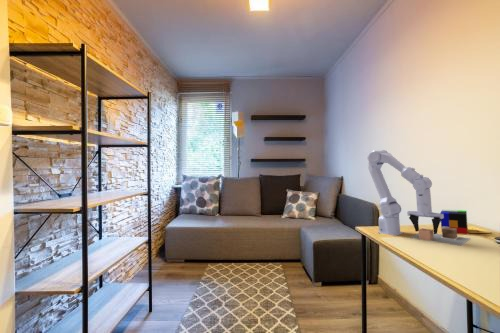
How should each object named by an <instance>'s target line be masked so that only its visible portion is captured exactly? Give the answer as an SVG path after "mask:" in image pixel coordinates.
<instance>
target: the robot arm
mask: <svg viewBox="0 0 500 333" xmlns="http://www.w3.org/2000/svg"><path fill="white" fill-rule="evenodd" d="M367 160H368V165H367V166H368V171H369V174H370V176H371V178H372V182H373V183H374V186H375V188H376V191H377V193H378V195H379V198H380V201H379V206H380V207H379V208H380V213H381V215H380V216H379V217H378V234H383V235H390V236H395V237H396V236H399V235H402V234H404V231H401V223H400V221H401V220H400V213H401V212H402V206H401V204H399V203H398V201H397V199H396V198H394V197H393V195H392V194H391V193H392V192H391V191H390V189H389V186H388V184H387V181H386V180H385V177H384V175H383V173H382V169H381V168H382V167H383V165H384V164H388V165H390V166H391V167H393V168H395V170H397V171H398V172H400V174H401V177H402V178H403V179H405V180H406V181H408V183H410V184H411V185H412V188H413V189H414V190H415V196H416V198H415V199H416V209H417V210H416V211H414V210H413V211H412V210H411V211H410V210H408V211H407V212H406V213H407V216H409V217H408V219H409V220H410V221H411V223H412V225H413V228H414V231H415V232H419V230H420V226H419V218H420V217H423V218H432V219H431V222H432V227H433V228H432V230H433V233H434V234H438V231H439V230H438V229H439V226H440V225H441V220H442V219H443V218H444V214H440V213H441V212H440V213H439V212H433V210H432V208H433V207H432V198H431V197H432V195H431V187H432V185H433V183H432V180H431V179H430V178H429V177H427V176H424V175H423V174H420V173H419V172H417V171H416V169H415V168H414V167H410V166H408V167H407V166H405V165H404V164H403V163H402V162H401V161H400V160H398V159H397V158H396V157H395V156H393V155H392V154H391V153H390V152H388V151H387V150H385V149H381V150H380V149H379V150H372V151H370V152H369V154H368V155H367Z"/></svg>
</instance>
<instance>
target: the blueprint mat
mask: <svg viewBox="0 0 500 333" xmlns="http://www.w3.org/2000/svg"><path fill="white" fill-rule="evenodd" d="M433 236H434V238H433V239H431V240H426V241H428V242H433V243H440V244H441V243H442V244H445V245H446V244H447V245H454V246H459V247H461V246H463V245H464V244H465V243H467V242H468V241H469V240H471V238H470V237H463V236H457V238H455V239H450V238H443V236H442V234H440V233H437V234H434V232H433ZM409 238H410V239H415V240H422V241H425V240H424V239H419V232H418V233H416V234H414V235H413V236H410V237H409Z"/></svg>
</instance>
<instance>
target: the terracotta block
mask: <svg viewBox="0 0 500 333" xmlns="http://www.w3.org/2000/svg"><path fill="white" fill-rule="evenodd" d="M418 233H419V239H418V240H421V239H424V240H423V241H427V240H431V239H433V238H434V236H433V233H434V232H433V229H429V228H419V231H418Z"/></svg>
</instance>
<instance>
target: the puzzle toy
mask: <svg viewBox="0 0 500 333" xmlns="http://www.w3.org/2000/svg"><path fill="white" fill-rule="evenodd" d="M467 213H468V212H467V210H463V209H462V210H461V209H457V210H456V209H441V211H440V214H444V218H443V219H442V220H441V222H440V228H441V231H442V229H443V228H445V227H449V228H457V234H463V235H468V231H467V230H469V228H468V216H467V215H468V214H467Z"/></svg>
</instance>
